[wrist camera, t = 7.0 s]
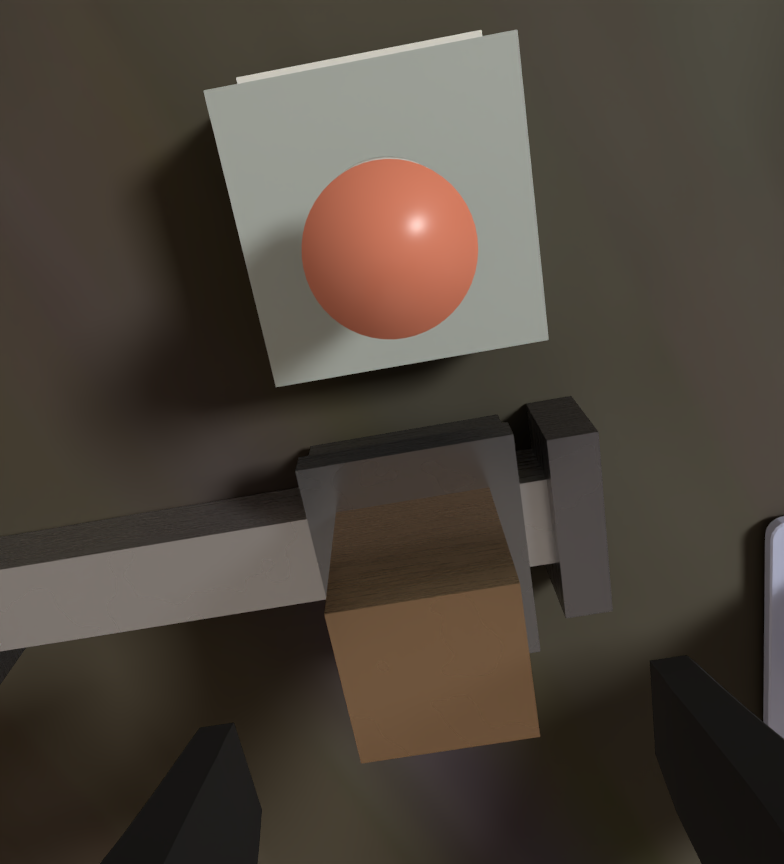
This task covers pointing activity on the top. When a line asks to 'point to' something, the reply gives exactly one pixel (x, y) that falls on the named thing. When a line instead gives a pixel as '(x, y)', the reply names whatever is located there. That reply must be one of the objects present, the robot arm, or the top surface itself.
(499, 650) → the carriage
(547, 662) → the top surface
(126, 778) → the top surface
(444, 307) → the orange and white dome
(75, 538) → the rail
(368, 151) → the grey square block
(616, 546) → the top surface
